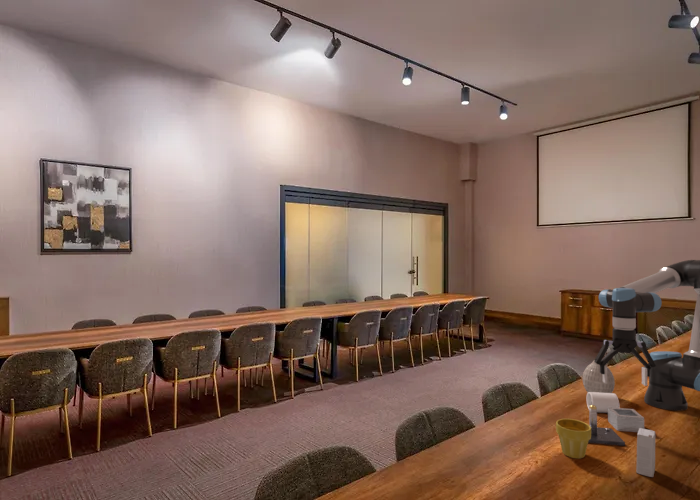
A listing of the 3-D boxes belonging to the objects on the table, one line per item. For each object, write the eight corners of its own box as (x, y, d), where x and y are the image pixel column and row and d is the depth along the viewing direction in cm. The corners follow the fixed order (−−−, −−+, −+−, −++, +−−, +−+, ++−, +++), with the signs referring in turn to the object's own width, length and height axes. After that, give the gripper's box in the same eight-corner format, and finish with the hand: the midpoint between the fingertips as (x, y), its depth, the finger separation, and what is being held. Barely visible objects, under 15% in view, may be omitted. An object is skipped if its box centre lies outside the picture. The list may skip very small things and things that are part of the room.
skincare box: (638, 465, 131) (637, 426, 131) (656, 470, 128) (655, 430, 128) (636, 473, 126) (635, 433, 126) (654, 478, 123) (653, 437, 123)
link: (633, 423, 164) (633, 409, 164) (644, 432, 155) (644, 417, 155) (608, 421, 166) (607, 407, 166) (617, 430, 157) (617, 415, 157)
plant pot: (590, 464, 132) (590, 433, 132) (554, 456, 137) (554, 426, 137) (592, 451, 140) (591, 422, 141) (557, 444, 146) (557, 416, 146)
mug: (619, 416, 171) (619, 397, 171) (593, 414, 173) (592, 395, 173) (608, 406, 182) (607, 387, 183) (583, 404, 184) (582, 386, 185)
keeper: (611, 431, 156) (611, 400, 156) (625, 445, 144) (624, 412, 144) (564, 427, 160) (564, 397, 160) (574, 441, 148) (573, 409, 148)
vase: (584, 399, 190) (584, 362, 191) (580, 391, 202) (580, 356, 203) (617, 403, 186) (617, 365, 186) (611, 394, 198) (611, 358, 198)
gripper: (656, 327, 162) (656, 382, 161) (585, 325, 167) (585, 378, 167) (666, 331, 154) (666, 389, 154) (591, 328, 160) (592, 384, 160)
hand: (624, 383), depth 161 cm, fingers open, 13 cm apart
